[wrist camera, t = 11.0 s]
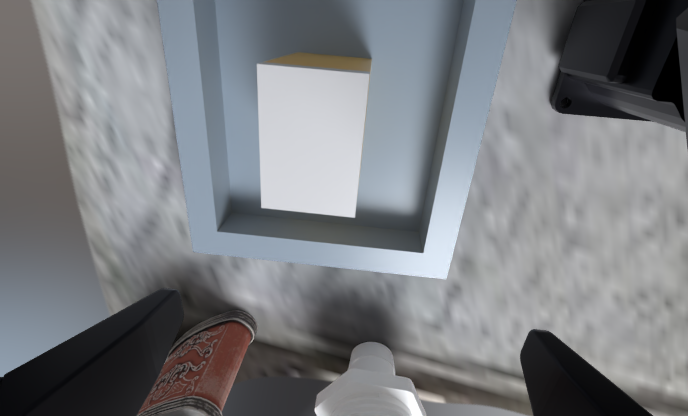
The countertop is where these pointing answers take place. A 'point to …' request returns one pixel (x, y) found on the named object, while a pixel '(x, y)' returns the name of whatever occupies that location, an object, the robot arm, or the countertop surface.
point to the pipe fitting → (370, 387)
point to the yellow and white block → (312, 131)
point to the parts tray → (379, 135)
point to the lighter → (202, 367)
